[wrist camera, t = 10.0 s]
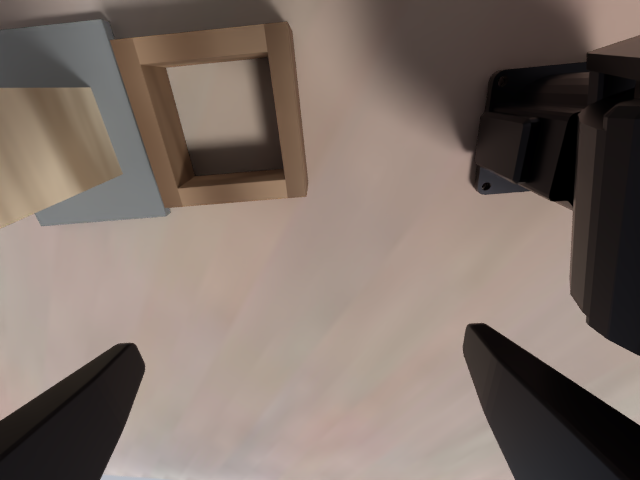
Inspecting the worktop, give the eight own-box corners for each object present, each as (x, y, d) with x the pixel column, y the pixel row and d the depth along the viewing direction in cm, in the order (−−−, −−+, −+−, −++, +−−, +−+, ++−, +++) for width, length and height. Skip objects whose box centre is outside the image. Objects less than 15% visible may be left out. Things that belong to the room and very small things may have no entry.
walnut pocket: (292, 31, 15) (287, 21, 13) (308, 183, 19) (306, 196, 16) (140, 46, 16) (109, 40, 13) (183, 193, 19) (164, 208, 17)
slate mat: (109, 21, 15) (101, 19, 15) (170, 212, 19) (166, 216, 19) (-47, 38, 15) (-60, 36, 15) (48, 222, 20) (41, 226, 19)
